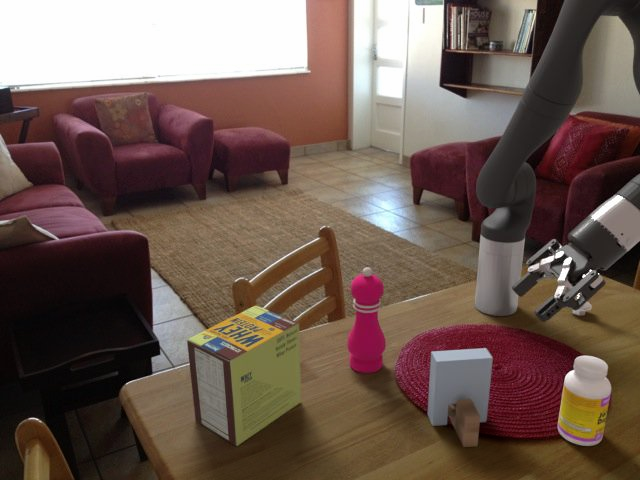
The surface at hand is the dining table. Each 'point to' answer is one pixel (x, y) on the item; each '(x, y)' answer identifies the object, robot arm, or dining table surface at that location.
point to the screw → (582, 309)
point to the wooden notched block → (465, 421)
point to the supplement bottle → (585, 402)
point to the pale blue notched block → (458, 381)
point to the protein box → (245, 373)
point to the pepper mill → (366, 324)
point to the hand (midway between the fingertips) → (526, 305)
